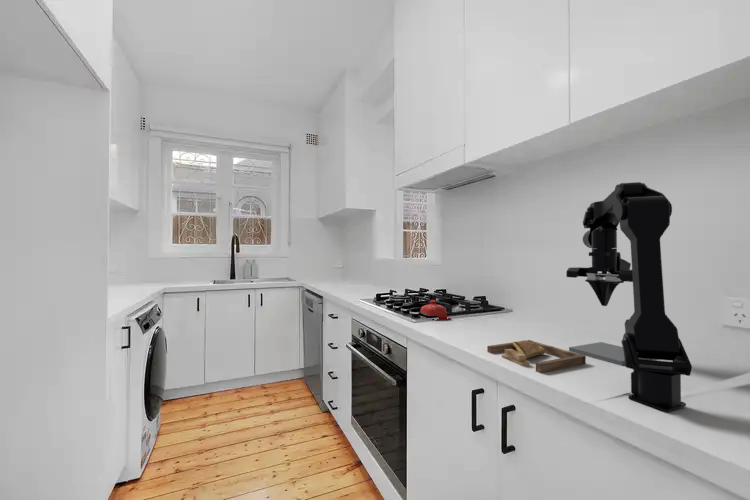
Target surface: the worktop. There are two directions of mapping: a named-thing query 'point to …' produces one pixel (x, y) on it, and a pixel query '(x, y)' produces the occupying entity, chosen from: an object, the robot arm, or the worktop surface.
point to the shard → (528, 348)
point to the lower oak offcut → (516, 361)
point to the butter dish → (435, 310)
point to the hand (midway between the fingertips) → (604, 305)
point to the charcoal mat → (602, 352)
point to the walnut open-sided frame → (564, 356)
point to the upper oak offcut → (515, 355)
